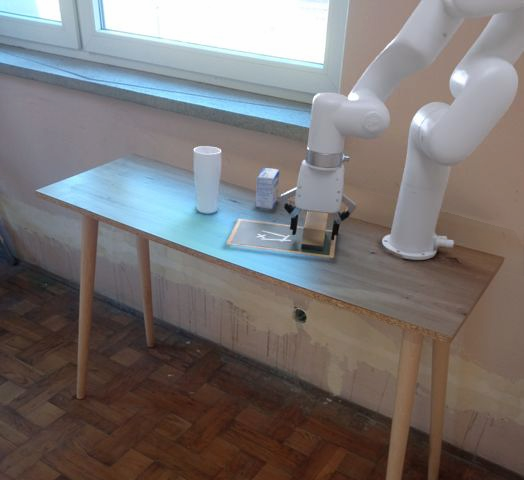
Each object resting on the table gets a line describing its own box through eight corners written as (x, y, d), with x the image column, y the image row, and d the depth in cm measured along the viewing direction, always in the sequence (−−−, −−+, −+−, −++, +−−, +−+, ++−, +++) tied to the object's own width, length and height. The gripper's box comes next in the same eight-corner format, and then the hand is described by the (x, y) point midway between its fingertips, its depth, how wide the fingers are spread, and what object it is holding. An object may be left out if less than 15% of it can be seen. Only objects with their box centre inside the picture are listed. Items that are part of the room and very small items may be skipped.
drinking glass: (224, 214, 139) (225, 153, 131) (197, 216, 137) (197, 155, 128) (215, 204, 144) (216, 145, 136) (190, 206, 142) (189, 146, 133)
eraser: (325, 233, 131) (328, 213, 129) (322, 251, 123) (325, 230, 120) (305, 231, 132) (307, 210, 129) (301, 248, 124) (303, 227, 121)
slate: (336, 234, 134) (336, 230, 133) (333, 262, 122) (333, 257, 121) (238, 222, 136) (238, 218, 135) (225, 248, 124) (225, 243, 123)
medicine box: (271, 212, 143) (274, 178, 138) (254, 210, 143) (256, 176, 138) (277, 201, 149) (280, 169, 144) (261, 199, 150) (263, 167, 144)
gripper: (365, 157, 119) (352, 233, 129) (285, 148, 120) (277, 224, 131) (365, 168, 113) (351, 247, 123) (280, 158, 114) (273, 236, 125)
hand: (313, 235), depth 127 cm, fingers open, 8 cm apart
